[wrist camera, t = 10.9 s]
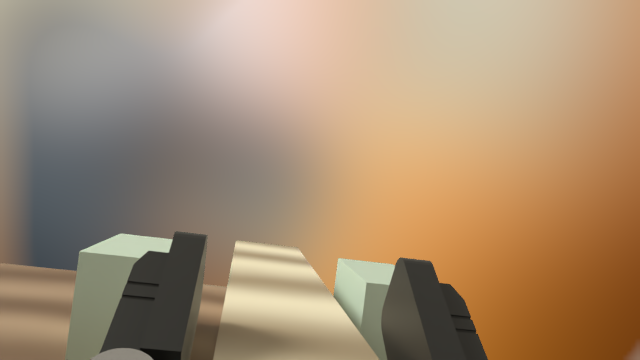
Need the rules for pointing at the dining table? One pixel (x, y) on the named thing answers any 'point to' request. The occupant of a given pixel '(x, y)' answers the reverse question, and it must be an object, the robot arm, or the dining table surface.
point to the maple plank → (283, 311)
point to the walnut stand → (55, 312)
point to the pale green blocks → (124, 250)
